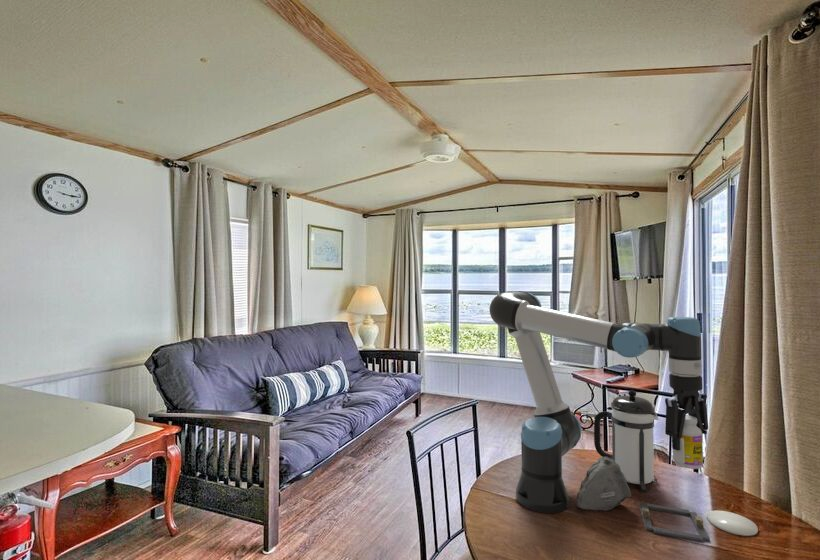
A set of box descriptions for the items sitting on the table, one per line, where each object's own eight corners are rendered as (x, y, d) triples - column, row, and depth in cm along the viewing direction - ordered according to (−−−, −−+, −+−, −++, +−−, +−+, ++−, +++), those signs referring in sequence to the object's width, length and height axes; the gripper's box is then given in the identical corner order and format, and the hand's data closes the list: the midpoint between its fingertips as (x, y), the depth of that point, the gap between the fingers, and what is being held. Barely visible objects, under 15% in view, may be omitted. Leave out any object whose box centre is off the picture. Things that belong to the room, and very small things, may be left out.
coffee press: (646, 470, 146) (645, 384, 146) (667, 494, 130) (667, 397, 130) (593, 468, 148) (593, 383, 148) (608, 490, 132) (607, 395, 132)
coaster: (713, 530, 111) (713, 528, 111) (701, 509, 121) (701, 507, 121) (765, 539, 107) (765, 537, 107) (748, 517, 117) (748, 514, 117)
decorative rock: (624, 502, 125) (623, 451, 125) (637, 514, 119) (636, 461, 119) (570, 503, 125) (570, 453, 125) (580, 516, 118) (580, 463, 118)
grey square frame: (646, 531, 111) (646, 522, 111) (638, 504, 124) (638, 496, 124) (710, 543, 105) (710, 533, 105) (695, 514, 119) (695, 505, 119)
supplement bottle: (695, 472, 109) (694, 422, 110) (668, 463, 115) (667, 416, 115) (707, 465, 113) (706, 417, 113) (681, 457, 118) (679, 411, 119)
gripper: (674, 380, 107) (677, 471, 107) (722, 373, 115) (725, 457, 114) (647, 375, 114) (650, 460, 114) (695, 368, 122) (697, 448, 121)
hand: (688, 458), depth 114 cm, fingers closed on supplement bottle, 7 cm apart
